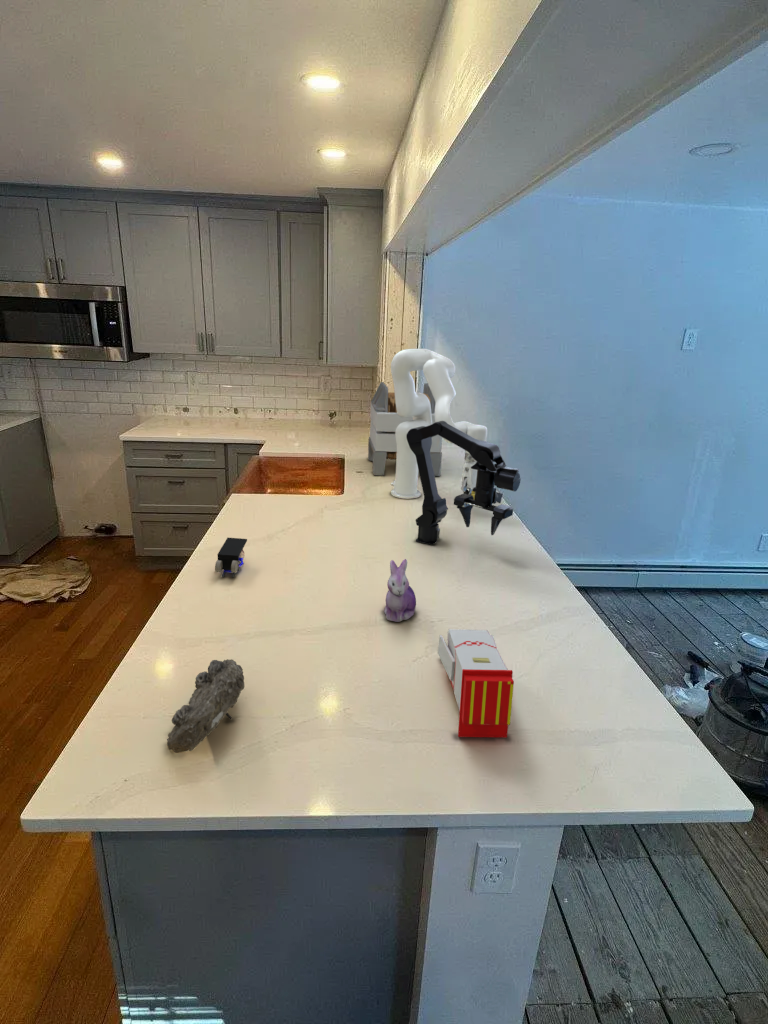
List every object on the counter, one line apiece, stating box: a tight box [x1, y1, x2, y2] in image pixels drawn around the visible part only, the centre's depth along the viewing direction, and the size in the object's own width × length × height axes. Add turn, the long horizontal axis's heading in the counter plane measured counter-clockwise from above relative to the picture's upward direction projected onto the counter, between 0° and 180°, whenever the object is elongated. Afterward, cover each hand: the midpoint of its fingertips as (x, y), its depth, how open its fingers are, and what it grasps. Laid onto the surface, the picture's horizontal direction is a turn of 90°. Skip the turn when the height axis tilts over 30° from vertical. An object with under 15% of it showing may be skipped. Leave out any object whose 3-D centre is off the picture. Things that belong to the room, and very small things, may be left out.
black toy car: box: [214, 537, 248, 578], centre depth 166 cm, size 7×8×15 cm
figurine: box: [384, 558, 417, 623], centre depth 145 cm, size 9×10×15 cm
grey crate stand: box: [367, 381, 443, 477], centre depth 277 cm, size 34×33×41 cm
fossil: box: [166, 658, 245, 754], centre depth 106 cm, size 22×10×15 cm
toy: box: [437, 628, 515, 738], centre depth 117 cm, size 12×13×30 cm
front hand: (480, 530), depth 182 cm, fingers open, 9 cm apart
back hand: (470, 502), depth 222 cm, fingers closed on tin, 3 cm apart
